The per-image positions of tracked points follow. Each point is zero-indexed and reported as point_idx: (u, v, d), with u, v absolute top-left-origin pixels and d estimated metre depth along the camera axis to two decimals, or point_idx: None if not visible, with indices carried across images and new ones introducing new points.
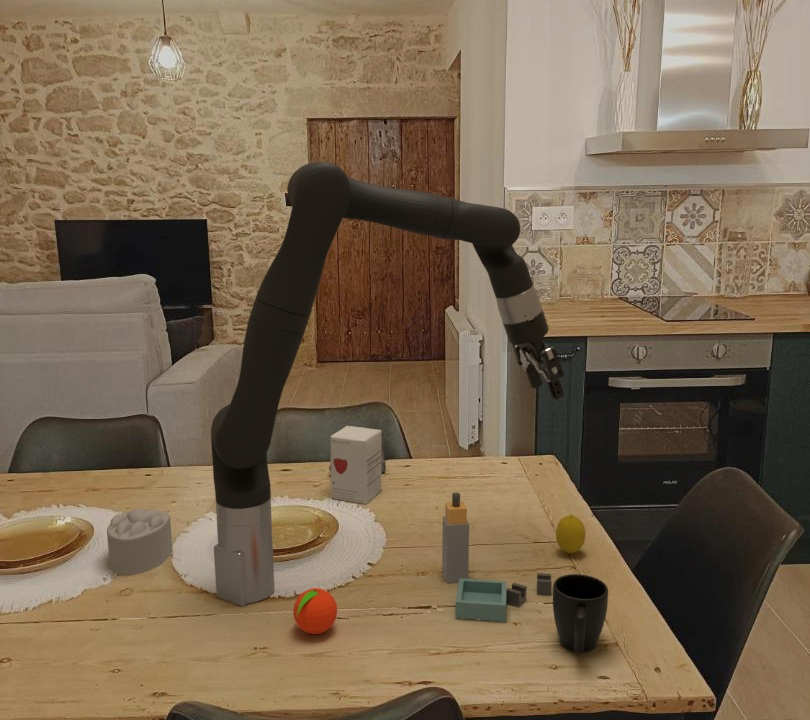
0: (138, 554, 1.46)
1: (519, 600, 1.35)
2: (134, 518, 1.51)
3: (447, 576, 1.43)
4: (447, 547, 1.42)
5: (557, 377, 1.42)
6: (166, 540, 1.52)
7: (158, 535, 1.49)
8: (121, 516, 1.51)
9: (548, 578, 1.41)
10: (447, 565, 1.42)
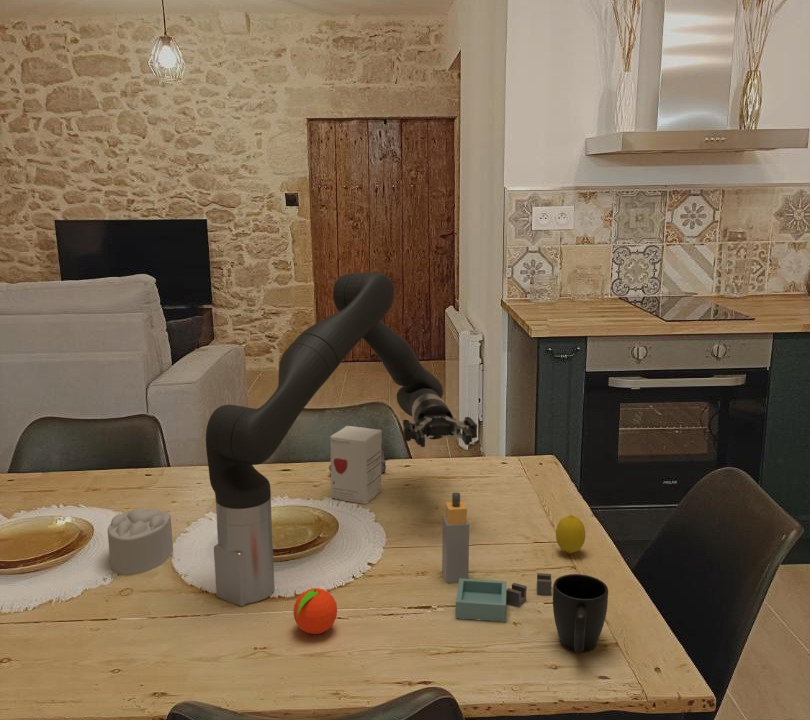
0: (139, 553, 1.46)
1: (519, 600, 1.35)
2: (135, 518, 1.51)
3: (447, 576, 1.43)
4: (447, 547, 1.42)
5: (476, 430, 1.56)
6: (167, 540, 1.52)
7: (158, 535, 1.49)
8: (122, 516, 1.51)
9: (548, 578, 1.41)
10: (447, 565, 1.42)
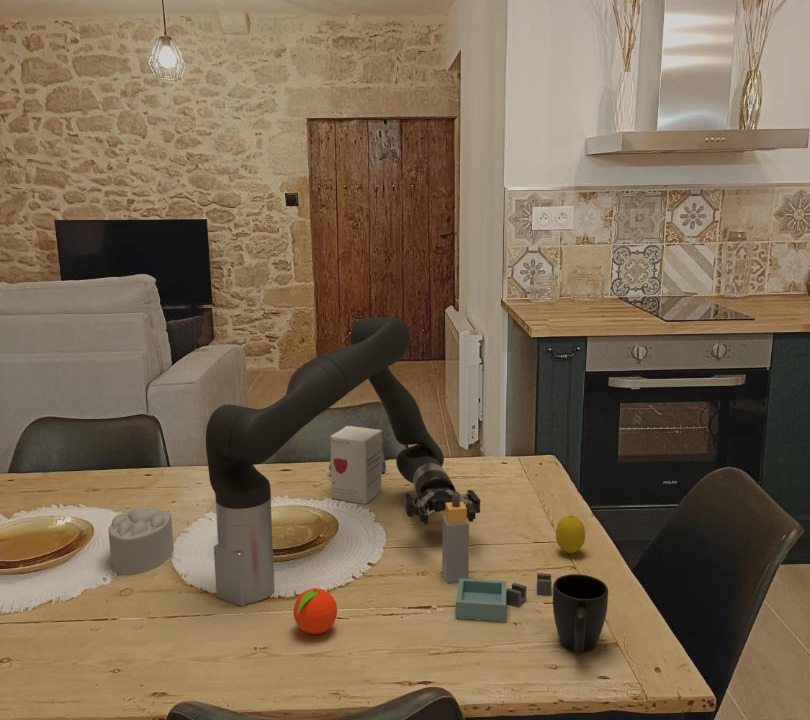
0: (141, 553, 1.46)
1: (519, 600, 1.35)
2: (135, 518, 1.51)
3: (447, 576, 1.43)
4: (447, 547, 1.42)
5: (479, 505, 1.54)
6: (168, 539, 1.52)
7: (160, 534, 1.49)
8: (122, 516, 1.52)
9: (548, 578, 1.41)
10: (447, 565, 1.42)
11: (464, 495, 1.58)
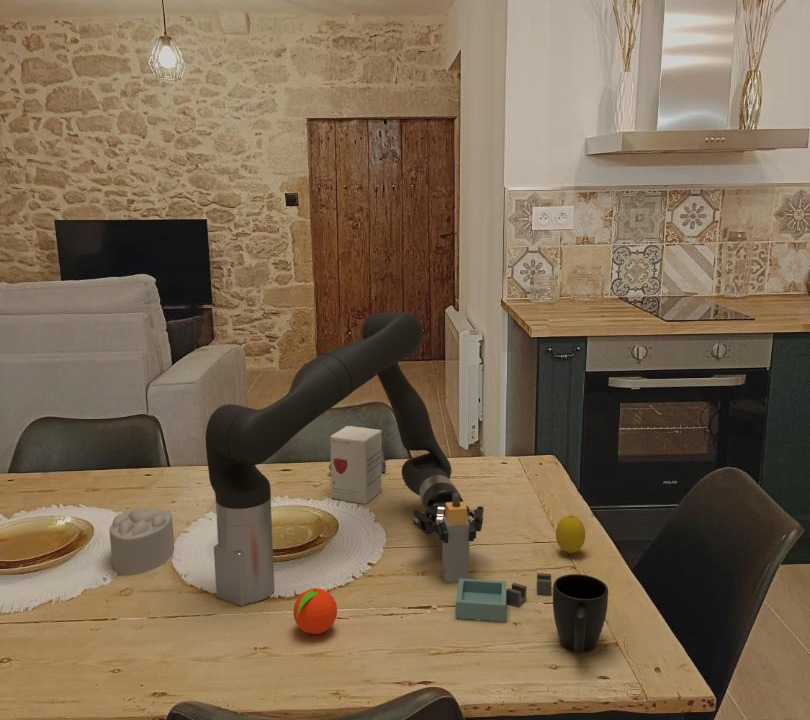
0: (142, 553, 1.46)
1: (519, 600, 1.35)
2: (136, 518, 1.51)
3: (447, 576, 1.43)
4: (447, 547, 1.42)
5: (480, 523, 1.46)
6: (169, 539, 1.52)
7: (161, 534, 1.49)
8: (123, 516, 1.52)
9: (548, 578, 1.41)
10: (447, 565, 1.42)
11: (473, 511, 1.51)
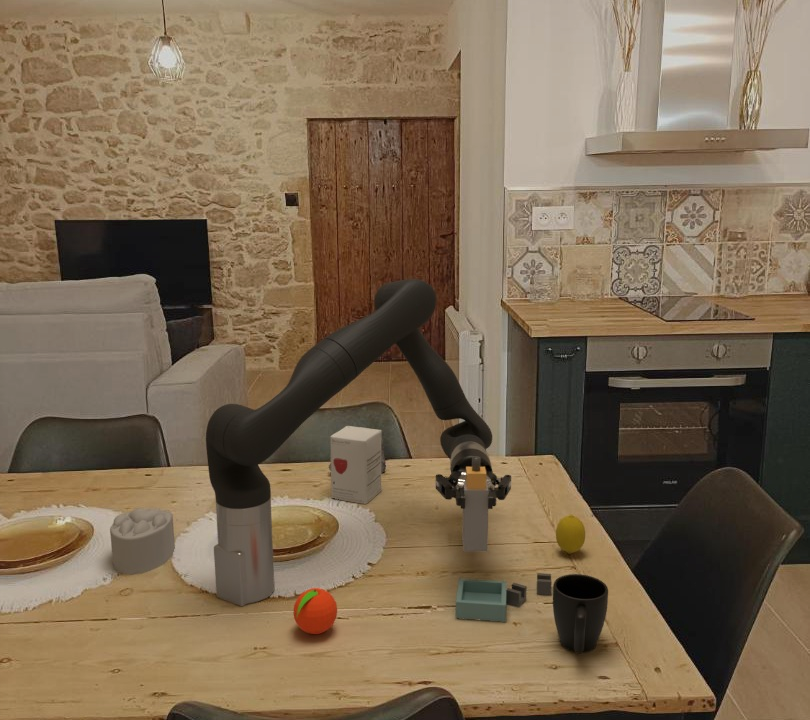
0: (143, 553, 1.46)
1: (519, 600, 1.35)
2: (137, 517, 1.51)
3: (464, 544, 1.35)
4: (465, 513, 1.34)
5: (504, 491, 1.38)
6: (169, 539, 1.53)
7: (161, 534, 1.49)
8: (124, 516, 1.52)
9: (548, 578, 1.41)
10: (464, 532, 1.35)
11: (500, 479, 1.42)
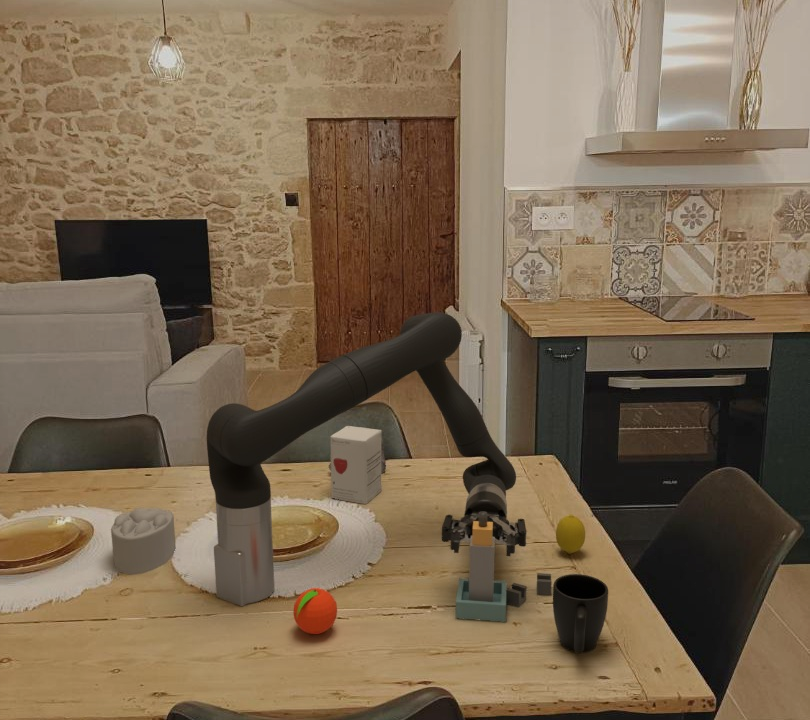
0: (144, 552, 1.47)
1: (519, 600, 1.35)
2: (138, 517, 1.52)
3: None
4: (470, 569, 1.32)
5: (525, 538, 1.34)
6: (170, 539, 1.53)
7: (163, 534, 1.49)
8: (125, 516, 1.52)
9: (548, 578, 1.41)
10: (470, 588, 1.32)
11: (513, 524, 1.39)
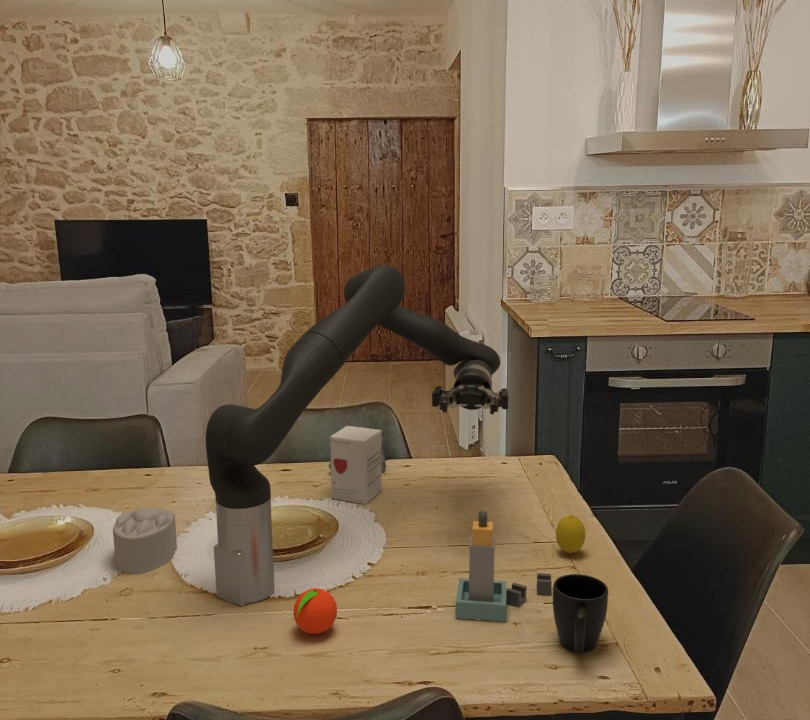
0: (146, 552, 1.47)
1: (519, 600, 1.35)
2: (140, 517, 1.52)
3: None
4: (470, 569, 1.32)
5: None
6: (172, 538, 1.53)
7: (165, 533, 1.50)
8: (126, 515, 1.52)
9: (548, 578, 1.41)
10: (470, 588, 1.32)
11: (497, 393, 1.53)
